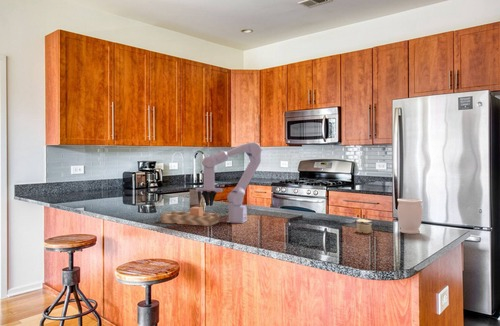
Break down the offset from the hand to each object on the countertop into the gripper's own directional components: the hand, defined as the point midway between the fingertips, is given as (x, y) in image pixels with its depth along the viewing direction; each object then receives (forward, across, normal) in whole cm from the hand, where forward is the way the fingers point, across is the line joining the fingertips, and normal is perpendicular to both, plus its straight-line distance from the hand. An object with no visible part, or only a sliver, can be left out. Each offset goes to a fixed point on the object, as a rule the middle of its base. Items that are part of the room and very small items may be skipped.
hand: (209, 205), depth 194 cm
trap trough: (+9, -12, 0) cm, 15 cm away
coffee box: (+10, -17, +19) cm, 27 cm away
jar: (+10, +97, +8) cm, 98 cm away
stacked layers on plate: (+10, +77, +3) cm, 78 cm away
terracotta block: (+6, -8, 0) cm, 10 cm away
